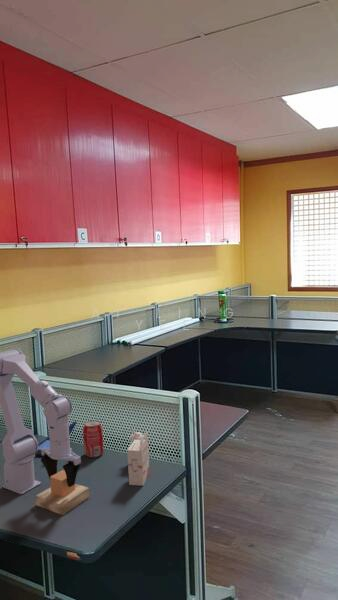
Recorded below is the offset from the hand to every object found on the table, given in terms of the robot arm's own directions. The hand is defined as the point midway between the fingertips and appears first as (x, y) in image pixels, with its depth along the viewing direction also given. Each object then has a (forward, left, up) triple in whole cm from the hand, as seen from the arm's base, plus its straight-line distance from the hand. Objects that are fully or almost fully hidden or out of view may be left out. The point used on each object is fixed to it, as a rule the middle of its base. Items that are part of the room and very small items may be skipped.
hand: (62, 482), depth 137 cm
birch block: (0, 0, -6) cm, 6 cm away
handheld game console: (-32, +25, -6) cm, 41 cm away
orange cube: (0, 0, -3) cm, 3 cm away
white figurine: (+5, +32, -6) cm, 33 cm away
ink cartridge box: (+12, +22, -6) cm, 26 cm away
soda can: (-14, +29, -6) cm, 33 cm away
